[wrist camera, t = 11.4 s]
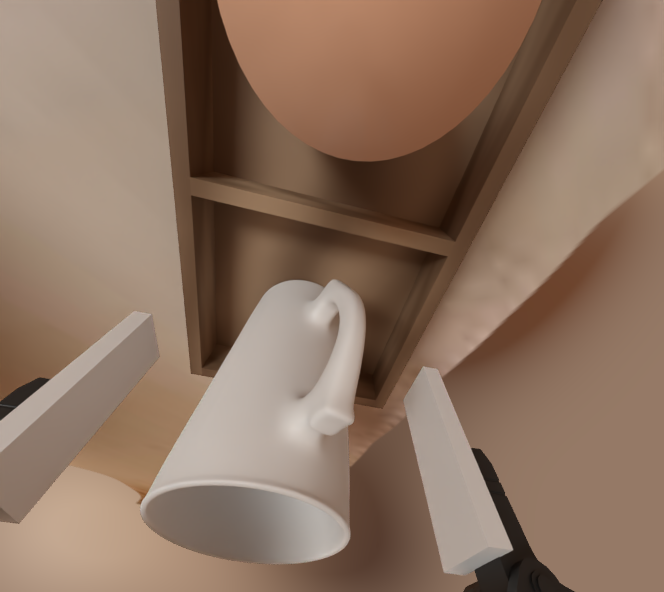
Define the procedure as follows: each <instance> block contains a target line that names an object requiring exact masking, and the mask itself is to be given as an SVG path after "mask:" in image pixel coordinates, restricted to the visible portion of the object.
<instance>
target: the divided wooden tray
mask: <svg viewBox="0 0 664 592" xmlns="http://www.w3.org/2000/svg"><path fill="white" fill-rule="evenodd" d="M601 2H602V0H542V1H541V3H540V6H539V8H538V11H537V13H536V16H535V18H534V20H533V22H532V24H531V26H530V28H529V30H528V32H527V34H526V36H525V38H524V40H523V42H522V44H521V46H520V48H519V50H518V51H517V53H516V55H515V56H514V58H513V59H512V61H511V63H510V64H509V66H508V68H507V69H506V71H505V72H504V74H503V75H502V76H501V78H500V79H499V80H498V82H497V83H496V84H495V86H494V87H493V89H492V90H491V91H490V93H489V94H488V95H487V96H486V97H485V98H484V99H483V100H482V102H481V103H480V104H479V105H478V106H477V107H476V108H475V109H474V110H473V112H471V113H470V114H469V115H468V116H467V117H466V118H465V119H464V120H463V121H461V122H460V123H459V124H458V125H457V126H456V127H455V128H453V129H452V130H450V131H449V132H448V133H446V134H445V135H444V136H442V137H441V138H439V139H438V140H436V141H434V142H432V143H431V144H429V145H427V146H425V147H424V148H422V149H419V150H417V151H414V152H412V153H409V154H407V155H404V156H400V157H397V158H393V159H389V160H381V161H372V162H370V161H352V160H347V159H341V158H337V157H334V156H331V155H328V154H325V153H323V152H321V151H319V150H317V149H315V148H313V147H311V146H309V145H307V144H306V143H304V142H303V141H301V140H300V139H298V138H297V137H296V136H294V135H293V134H291V133H290V132H289V131H288V130H287V129H286V128H285V127H284V126H283V125H282V124H280V123H279V122H278V121H277V120H276V118H275V117H274V116H273V115H272V114H271V113H270V112H269V110H268V109H267V108H266V107H265V106H264V104H263V103H262V102H261V100H260V99H259V97H258V96H257V94H256V93H255V91H254V90H253V88H252V87H251V85H250V83H249V82H248V80H247V78H246V76H245V74H244V72H243V71H242V69H241V67H240V65H239V63H238V60H237V58H236V56H235V53H234V51H233V49H232V46H231V44H230V42H229V39H228V36H227V33H226V30H225V27H224V23H223V20H222V17H221V14H220V10H219V6H218V1H217V0H156V9H157V19H158V30H159V41H160V51H161V62H162V72H163V83H164V93H165V104H166V114H167V125H168V136H169V146H170V157H171V167H172V178H173V188H174V199H175V209H176V220H177V231H178V241H179V252H180V262H181V273H182V283H183V294H184V305H185V315H186V326H187V336H188V347H189V357H190V368H191V374H196V375H202V376H207V377H213V378H214V377H215V375H216V374H217V372H218V370H219V368H220V367H221V365H222V363H223V362H224V360H225V358H226V357H227V355H228V353H229V352H230V350H231V348H232V347H233V345H234V343H235V341H236V340H237V338H238V336H239V335H240V333H241V331H242V329H243V328H244V326H245V324H246V323H247V321H248V319H249V317H250V316H251V314H252V312H253V311H254V309H255V308H256V306H257V305H258V303H259V301H260V300H261V298H262V297H263V295H264V294H265V293H266V292H267V291H268V290H269V289H270V288H272V287H273V286H275V285H277V284H279V283H282V282H285V281H290V280H305V281H310V282H313V283H316V284H319V285H321V286H323V287H324V288H325V287H326V285H327V284H328V283H329V282H330V281H331V280H333V279H336V280H339V281H341V282H343V283H344V284H346V285H347V286H349V287H350V288H351V289H353V290H354V291H355V292H356V293H357V294H358V295H359V296H360V297H361V300H362V302H363V304H364V308H365V315H366V333H365V344H364V351H363V358H362V364H361V369H360V375H359V380H358V385H357V389H356V395H355V400H354V404H360V405H365V406H371V407H376V408H382V409H383V407H384V405H385V403H386V401H387V399H388V397H389V396H390V394H391V392H392V390H393V388H394V386H395V384H396V383H397V381H398V379H399V377H400V375H401V373H402V371H403V370H404V368H405V366H406V364H407V362H408V360H409V358H410V357H411V355H412V353H413V351H414V349H415V347H416V345H417V344H418V342H419V340H420V338H421V336H422V334H423V332H424V331H425V329H426V327H427V325H428V323H429V321H430V319H431V318H432V316H433V314H434V312H435V310H436V308H437V306H438V305H439V303H440V301H441V299H442V297H443V295H444V293H445V292H446V290H447V288H448V286H449V284H450V282H451V280H452V279H453V277H454V275H455V273H456V271H457V269H458V267H459V266H460V264H461V262H462V260H463V258H464V256H465V254H466V253H467V251H468V249H469V247H470V245H471V243H472V241H473V240H474V238H475V236H476V234H477V232H478V230H479V228H480V227H481V225H482V223H483V221H484V219H485V217H486V215H487V214H488V212H489V210H490V208H491V206H492V204H493V202H494V201H495V199H496V197H497V195H498V193H499V191H500V189H501V188H502V186H503V184H504V182H505V180H506V178H507V176H508V175H509V173H510V171H511V169H512V167H513V165H514V163H515V162H516V160H517V158H518V156H519V154H520V152H521V150H522V149H523V147H524V145H525V143H526V141H527V139H528V137H529V136H530V134H531V132H532V130H533V128H534V126H535V124H536V123H537V121H538V119H539V117H540V115H541V113H542V111H543V110H544V108H545V106H546V104H547V102H548V100H549V98H550V97H551V95H552V93H553V91H554V89H555V87H556V85H557V84H558V82H559V80H560V78H561V76H562V74H563V72H564V71H565V69H566V67H567V65H568V63H569V61H570V59H571V58H572V56H573V54H574V52H575V50H576V48H577V46H578V45H579V43H580V41H581V39H582V37H583V35H584V33H585V32H586V30H587V28H588V26H589V24H590V22H591V20H592V19H593V17H594V15H595V13H596V11H597V9H598V7H599V6H600V4H601Z"/></svg>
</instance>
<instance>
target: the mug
mask: <svg viewBox="0 0 664 592" xmlns="http://www.w3.org/2000/svg"><path fill="white" fill-rule="evenodd" d="M365 333H366V315H365V308H364V304H363V302H362V300H361V297H360V296H359V295H358V294H357V293H356V292H355V291H354V290H353V289H351V288H350V287H349V286H347V285H346V284H344V283H343V282H341V281H339V280H336V279H333V280H331V281H330V282H329V283H328V284H327V285H326V287H325V288H324V287H323V286H321V285H319V284H316V283H313V282H310V281H305V280H290V281H285V282H282V283H279V284H277V285H275V286H273V287H272V288H270V289H269V290H268V291H267V292H266V293H265V294H264V295H263V297H262V298H261V300H260V301H259V303H258V305H257V306H256V308H255V309H254V311H253V312H252V314H251V316H250V317H249V319H248V321H247V323H246V324H245V326H244V328H243V329H242V331H241V333H240V335H239V336H238V338H237V340H236V341H235V343H234V345H233V347H232V348H231V350H230V352H229V353H228V355H227V357H226V358H225V360H224V362H223V363H222V365H221V367H220V368H219V370H218V372H217V374H216V375H215V377H214V379H213V380H212V382H211V384H210V385H209V387H208V389H207V390H206V392H205V394H204V395H203V397H202V399H201V400H200V402H199V404H198V405H197V407H196V409H195V411H194V412H193V414H192V416H191V417H190V419H189V421H188V422H187V424H186V426H185V427H184V429H183V431H182V433H181V434H180V436H179V438H178V439H177V441H176V443H175V444H174V446H173V448H172V450H171V451H170V453H169V455H168V457H167V458H166V460H165V462H164V464H163V466H162V467H161V469H160V471H159V473H158V475H157V476H156V478H155V480H154V482H153V484H152V486H151V488H150V490H149V491H148V493H147V495H146V497H145V498H144V499H143V501H142V503H141V506H140V513H141V516H142V519H143V520H144V522H145V523H146V525H147V526H148V527H149V528H151V529H152V530H153V531H154V532H155V533H157V534H158V535H160V536H161V537H163V538H165V539H167V540H168V541H170V542H172V543H174V544H177V545H179V546H181V547H184V548H186V549H189V550H192V551H195V552H198V553H201V554H205V555H209V556H213V557H217V558H221V559H227V560H232V561H239V562H247V563H257V564H296V563H305V562H311V561H316V560H320V559H323V558H326V557H329V556H331V555H334V554H336V553H338V552H339V551H341V550H342V549H343V548H345V546H346V545H347V544H348V542H349V540H350V536H351V531H350V522H349V521H350V520H349V519H350V518H349V494H350V493H349V491H350V490H349V489H350V487H349V485H350V482H349V481H350V477H349V440H348V426H349V425H351V424H352V423H353V422H354V420H355V415H354V400H355V395H356V389H357V385H358V380H359V375H360V369H361V364H362V358H363V351H364V344H365Z"/></svg>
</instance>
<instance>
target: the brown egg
mask: <svg viewBox="0 0 664 592" xmlns="http://www.w3.org/2000/svg"><path fill="white" fill-rule="evenodd" d="M217 1H218V6H219V10H220V14H221V17H222V20H223V23H224V27H225V30H226V33H227V36H228V39H229V42H230V44H231V46H232V49H233V51H234V53H235V56H236V58H237V60H238V63H239V65H240V67H241V69H242V71H243V72H244V74H245V76H246V78H247V80H248V82H249V83H250V85H251V87H252V88H253V90H254V91H255V93H256V94H257V96H258V97H259V99H260V100H261V102H262V103H263V104H264V106H265V107H266V108H267V109H268V110H269V112H270V113H271V114H272V115H273V116H274V117H275V118H276V120H277V121H278V122H279V123H280V124H282V125H283V126H284V127H285V128H286V129H287V130H288V131H289V132H290V133H291V134H293V135H294V136H296V137H297V138H298V139H300V140H301V141H303V142H304V143H306V144H307V145H309V146H311V147H313V148H315V149H317V150H319V151H321V152H323V153H325V154H328V155H331V156H334V157H337V158H341V159H347V160H352V161H370V162H372V161H381V160H389V159H393V158H397V157H400V156H404V155H407V154H409V153H412V152H414V151H417V150H419V149H422V148H424V147H425V146H427V145H429V144H431V143H432V142H434V141H436V140H438V139H439V138H441V137H442V136H444V135H445V134H446V133H448V132H449V131H450V130H452V129H453V128H455V127H456V126H457V125H458V124H459V123H460V122H461V121H463V120H464V119H465V118H466V117H467V116H468V115H469V114H470V113H471V112H473V110H474V109H475V108H476V107H477V106H478V105H479V104H480V103H481V102H482V100H483V99H484V98H485V97H486V96H487V95H488V94H489V93H490V91H491V90H492V89H493V87H494V86H495V84H496V83H497V82H498V80H499V79H500V78H501V76H502V75H503V74H504V72H505V71H506V69H507V68H508V66H509V64H510V63H511V61H512V59H513V58H514V56H515V55H516V53H517V51H518V50H519V48H520V46H521V44H522V42H523V40H524V38H525V36H526V34H527V32H528V30H529V28H530V26H531V24H532V22H533V20H534V18H535V16H536V13H537V11H538V8H539V6H540V3H541V1H542V0H217Z"/></svg>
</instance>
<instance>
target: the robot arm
mask: <svg viewBox="0 0 664 592" xmlns="http://www.w3.org/2000/svg"><path fill="white" fill-rule="evenodd" d="M159 357H160V356H159V350H158V345H157V339H156V334H155V328H154V323H153V318H152V314H149V313H143V312H138V311H133V312H132V313H131V314H130V315H129V316H127V317H126V318H125V319H124V320H122V321H121V322H120V323H119V324H118V325H116V326H115V327H114V328H113V329H112V330H110V331H109V332H108V333H107V334H105V335H104V336H103V337H102V338H101V339H99V340H98V341H97V342H96V343H94V344H93V345H92V346H91V347H90V348H88V349H87V350H86V351H85V352H83V353H82V354H81V355H80V356H79V357H77V358H76V359H75V360H74V361H73V362H71V363H70V364H69V365H68V366H66V367H65V368H64V369H63V370H62V371H60V372H59V373H58V374H57V375H55V376H54V377H53V378H52V379H46V378H38V379H36V380H34V381H32V382H30V383H28V384H26V385H24V386H22V387H20V388H18V389H16V390H15V391H14V392H12V393H11V394H10V395H8V396H7V397H6V398H4V399H3V400H2V401H0V521H1V522H10V523H18V524H19V523H20V522H21V521H22V520H23V518H24V517H25V516H26V515H27V514H28V512H29V511H30V510H31V509H32V508H33V507H34V505H35V504H36V503H37V502H38V501H39V499H40V498H41V497H42V496H43V494H44V493H45V492H46V491H47V490H48V489H49V488H50V486H51V485H52V484H53V482H55V480H56V479H57V478H58V477H59V476H60V474H61V473H62V472H63V471H64V470H65V469H66V467H67V466H68V465H69V464H70V463H71V461H72V460H73V459H74V458H75V457H76V455H77V454H78V453H79V452H80V451H81V450H82V448H83V447H84V446H85V445H86V444H87V442H88V441H89V440H90V439H91V438H92V436H93V435H94V434H95V433H96V432H97V431H98V429H99V428H100V427H101V426H102V425H103V423H104V422H105V421H106V420H107V419H108V417H109V416H110V415H111V414H112V413H113V412H114V410H115V409H116V408H117V407H118V406H119V404H120V403H121V402H122V401H123V400H124V398H125V397H126V396H127V395H128V394H129V393H130V391H131V390H132V389H133V388H134V387H135V385H136V384H137V383H138V382H139V381H140V379H141V378H142V377H143V376H144V375H145V374H146V372H147V371H148V370H149V369H150V368H151V366H152V365H153V364H154V363H155V362H156V360H157V359H158V358H159ZM403 402H404V406H405V410H406V414H407V419H408V423H409V427H410V431H411V436H412V439H413V444H414V448H415V452H416V457H417V461H418V465H419V469H420V474H421V478H422V482H423V486H424V490H425V495H426V498H427V503H428V507H429V512H430V515H431V520H432V524H433V528H434V533H435V537H436V541H437V545H438V550H439V553H440V558H441V562H442V567H443V571H444V573H449V574H458V575H467V574H469V573H471V572H473V571H475V573H476V577H477V580H478V581H477V582H475V583H473V584H471V585H469V586H467V587H466V588H465V590H464V592H574V591H572V590H571V589H569V588H567V587H565V586H564V585H562V584H561V583H559V581H558V579H557V578H556V577H555V575H554V574H553V573H552V572H551V571H550V570H549V569H548V568H547V567H546V566H544V565H543V564H542V563H541V562H539V561H538V560H537V558H536V557H535V555H534V553H533V552H532V550H531V548H530V546H529V544H528V541H527V539H526V537H525V535H524V533H523V531H522V528H521V526H520V524H519V522H518V520H517V518H516V515H515V513H514V512H513V509H512V507H511V505H510V503H509V500H508V498H507V496H505V492H504V490H503V488H502V485H501V483H499V479H498V477H497V474H496V472H495V470H494V468H493V466H492V464H491V463H490V461H489V460H488V458H487V457H486V456H485V454H484V453H483V452H482V451H481V450H480V449H475V448H470V446H469V443H468V440H467V438H466V436H465V433H464V431H463V429H462V426H461V424H460V421H459V419H458V417H457V414H456V412H455V410H454V407H453V405H452V403H451V400H450V398H449V395H448V393H447V391H446V388H445V386H444V383H443V381H442V378H441V376H440V374H439V371H438V369H435V368H430V367H425V366H423V367H422V369H421V371H420V372H419V374H418V376H417V378H416V379H415V381H414V383H413V384H412V386H411V388H410V389H409V391H408V393H407V394H406V396H405V398H404V399H403Z"/></svg>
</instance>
